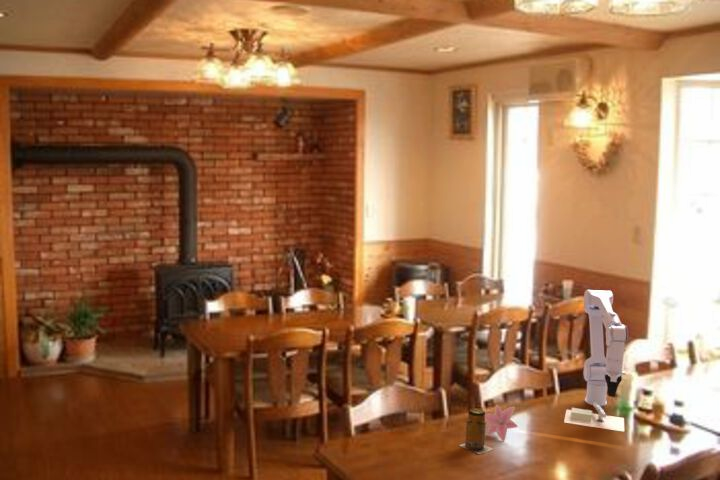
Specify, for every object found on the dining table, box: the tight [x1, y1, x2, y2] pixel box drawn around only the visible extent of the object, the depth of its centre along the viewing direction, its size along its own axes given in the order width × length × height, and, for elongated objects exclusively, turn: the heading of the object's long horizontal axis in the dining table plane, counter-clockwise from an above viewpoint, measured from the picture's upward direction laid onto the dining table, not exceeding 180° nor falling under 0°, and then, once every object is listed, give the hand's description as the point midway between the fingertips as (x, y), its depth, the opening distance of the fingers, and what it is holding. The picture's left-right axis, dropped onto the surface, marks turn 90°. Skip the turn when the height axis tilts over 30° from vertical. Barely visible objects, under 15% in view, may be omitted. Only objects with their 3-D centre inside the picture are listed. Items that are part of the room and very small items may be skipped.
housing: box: [563, 409, 625, 433], centre depth 260 cm, size 14×20×1 cm
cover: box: [570, 407, 593, 422], centre depth 262 cm, size 5×7×2 cm
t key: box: [592, 402, 607, 421], centre depth 261 cm, size 2×12×4 cm, turn 177°
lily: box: [485, 404, 518, 442], centre depth 246 cm, size 12×12×10 cm
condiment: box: [458, 408, 494, 455], centre depth 233 cm, size 7×8×12 cm
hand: (611, 395), depth 262 cm, fingers closed
